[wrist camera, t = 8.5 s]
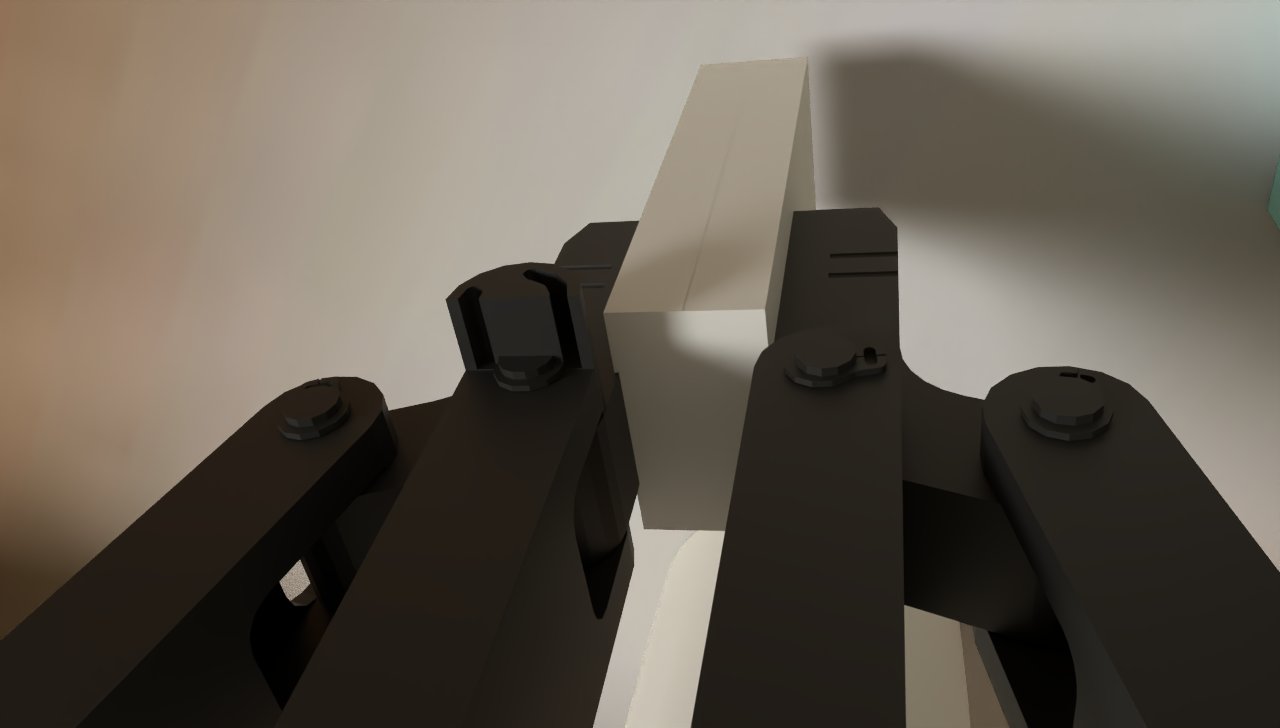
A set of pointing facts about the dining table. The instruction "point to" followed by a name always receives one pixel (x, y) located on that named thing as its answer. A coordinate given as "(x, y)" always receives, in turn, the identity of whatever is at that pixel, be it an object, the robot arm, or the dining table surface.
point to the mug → (682, 632)
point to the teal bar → (1275, 198)
